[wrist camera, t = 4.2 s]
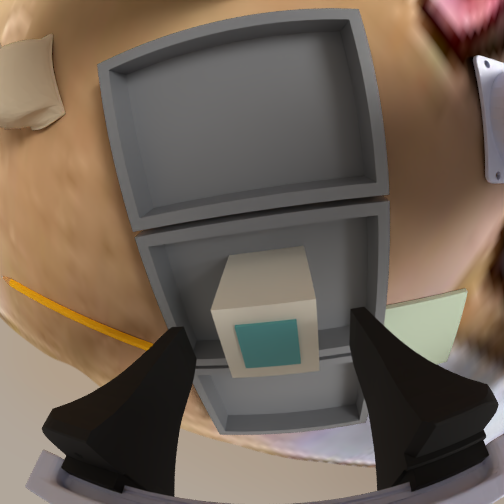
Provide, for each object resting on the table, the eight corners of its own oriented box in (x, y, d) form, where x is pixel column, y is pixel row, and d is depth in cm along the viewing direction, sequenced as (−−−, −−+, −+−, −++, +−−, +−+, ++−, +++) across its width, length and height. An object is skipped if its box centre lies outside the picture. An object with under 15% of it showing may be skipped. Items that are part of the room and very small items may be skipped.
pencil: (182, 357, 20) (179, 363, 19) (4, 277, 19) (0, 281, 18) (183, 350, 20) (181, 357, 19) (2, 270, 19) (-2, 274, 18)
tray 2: (374, 190, 14) (389, 201, 12) (372, 324, 17) (381, 346, 15) (151, 223, 15) (134, 237, 13) (192, 343, 19) (184, 365, 17)
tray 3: (371, 328, 17) (380, 350, 15) (361, 402, 21) (365, 422, 19) (193, 346, 19) (186, 369, 17) (223, 414, 22) (219, 434, 20)
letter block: (303, 245, 15) (316, 301, 10) (310, 307, 16) (319, 373, 12) (226, 255, 15) (205, 312, 11) (240, 315, 17) (229, 380, 12)
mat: (465, 288, 15) (467, 291, 15) (445, 358, 18) (446, 361, 18) (379, 306, 16) (381, 310, 16) (370, 377, 19) (371, 380, 19)
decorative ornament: (29, 142, 14) (-29, 157, 9) (17, 48, 10) (-34, 44, 5) (66, 116, 13) (3, 123, 8) (54, 17, 10) (1, 3, 5)
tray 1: (347, 24, 10) (358, 9, 8) (373, 184, 13) (389, 194, 11) (118, 70, 12) (97, 64, 10) (149, 217, 15) (132, 231, 13)
